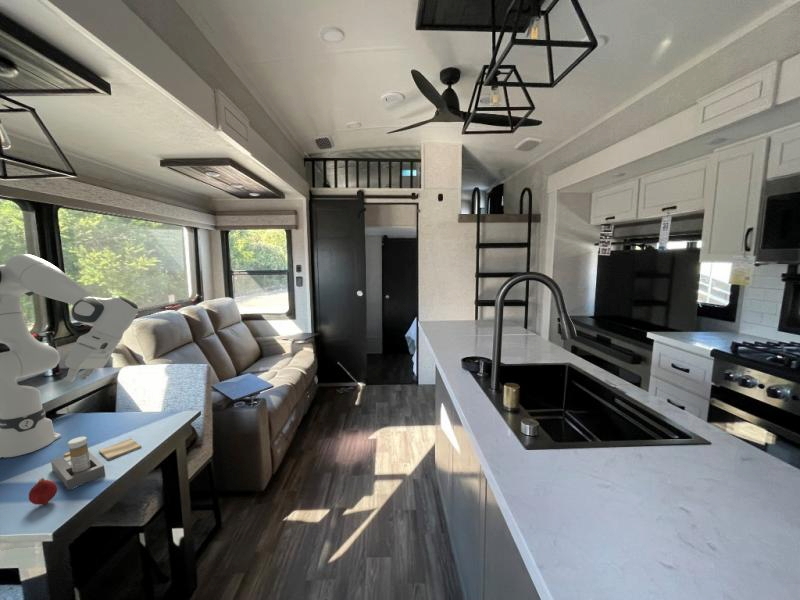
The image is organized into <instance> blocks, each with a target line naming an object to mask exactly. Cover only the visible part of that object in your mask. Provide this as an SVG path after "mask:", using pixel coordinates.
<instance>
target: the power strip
mask: <svg viewBox="0 0 800 600" xmlns="http://www.w3.org/2000/svg"><path fill="white" fill-rule="evenodd" d="M88 452H89V458H90V469H88V470H85V471H83V472H80V473H78V474H75V475H73V471H72V465H71V457H70V451H68V452H66V453H63V456H60V457H56V458H54V459H52V460H50V464H51V469H52V472H53V473H54V472H55V473H56V474H55V473H54V474H55V475H56V477H57V478H58V477H59V478H60V479H59V478H58V479H59V480H60V482H61V481H62V482H63V483H64V484H63V483H62V482H61V483H62V484H63V485H64V487H65V486H66V487H67V488H66V487H65V488H66V490H67V491H68V490H69V491H71V490H70V489H72V488H74V487H76V486H79V485H81V484H83V485H85V484H84V483H86V482H88V483H90V482H93V481H95V480H97V479H99V477H100V478H103V477H104V476H106V471H105V464H103V463H102V462H101V461H100V460H98V458H97V457H96V456H95V455H93V454H92V453H91V451H90V450H88ZM96 478H97V479H96ZM94 479H95V480H94ZM92 480H93V481H92ZM89 481H90V482H89ZM86 484H87V483H86ZM81 486H82V485H81ZM79 487H80V486H79ZM76 488H77V487H76ZM74 489H75V488H74ZM72 490H73V489H72Z"/></svg>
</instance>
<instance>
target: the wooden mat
mask: <svg viewBox="0 0 800 600" xmlns="http://www.w3.org/2000/svg"><path fill="white" fill-rule="evenodd" d="M141 448H142V445H141V444H140V443H138V442H137V441H135V439H132V438H129V439H125V440H123V441H121V442H117V443H116V444H113V445H110V446H108V447H104V448H102V449H99V450H98V452H99V454H100V455H101V454H102V455H101V456H102V457H104V458H105V460H107V461H111V460H114V459H116V458H118V457H121V456H123V455H126V454H129V453H131V452H134V451H136V450H139V449H141Z"/></svg>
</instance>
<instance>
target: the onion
mask: <svg viewBox="0 0 800 600" xmlns="http://www.w3.org/2000/svg"><path fill="white" fill-rule="evenodd" d="M57 493H58V486H57V484H56V483H55V482H54V481H52V480H47V479H45V478H44V477H41V478H39V479H38V482H37V483H35V485H33V486H32V488H31V489H30V491H29V493H28V500H29V502H30V503H32V504H34V505H36V506H37V505H39V506H40V505H41V506H45V505H46V504H48V503H49V502H51V500H53V498H54V497H55V496H56V494H57Z"/></svg>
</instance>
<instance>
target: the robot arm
mask: <svg viewBox="0 0 800 600" xmlns="http://www.w3.org/2000/svg"><path fill="white" fill-rule="evenodd" d="M35 294H37V295H39V296H42V297H44V298H48V299H52V300H55V301H59V302H63V303H65V304H69V305H72V307H71V317H72V318H73V320H75V321H76V322H78V323H81V324H84V325H88V326H90V327H92V328H90V330H89V332H87V333H84V334H82V335H80V336H79V337H77V339H76V343H77V344H75V345H74V347H72V349H71V351H70V352H69V354H68V356H67V357H66V360H65V362H64V366H65V367H67V368H68V371H67V375H66V376H65V378H64V381H65V382H68V383H71V382H74V380H75V379H76V376H77V373H79V372H80V370H85V371H84V372H83V373H81V375H80V376H79V378H78V379H79V380H81V381H87V380H88V379H89V378H90V376H91V375H92V374H93V373H95V371H96V370H97V369H102V368H104V367H105V366H106V364H107V363H108V361H109V359H110V358H111V356H112V354H113V352H114V351H115V350H116V348H117V346H118V345H119V343H120V342H121V341H122V338H123V336H124V333H125V332H126V331H127V330H128V329H129V328H130V327H131V325H132V323H133V322H134V321H135V318H136V316H137V314H138V311H139V307H138V305H137V304H136V303H135V302H133V301H131V300H130V299H128V298H126V297H124V296H119V295H118V296H117V295H116V296H113V297H104V298H103V297H97V296H96V295H94V294H93V293H91V292H90V291H88V290H86V288H85V287H82V286H81V285H80V284H79V283H77V282H76V281H75V280H74V279H73V278H72V277H70V276H69V275H67V274H66V273H65V272H64V271H63V270H61V269H60V268H59V267H57V266H55V265H54V264H53V263H51V262H49V261H47V260H45V259H43V258H42V257H41V258H40V257H38V256H35V255H32V254H29V253H20V254H16V255H14V256H12V257H10V258H9V259H8V260H7V262H6V264H0V344H3V345H5V346H7V347H8V348H9V351H8V350H7V351H3V352H0V458H2V457H3V458H13V457H18V456H22V455H26V454H29V453H33V452H35V451H38V450H41V449H43V448H45V447H46V446H49V445H50V444H51V443H53V442H54V441H56V440H59V439H60V438H61V437H62V435H61V433H58V432H55V429H54V424H53V421H52V419H50V418H47V417H46V410H45V407H43V402H42V397H41V391H40V390H39V389H38V388H37V387H34V386H29V385H20V384H18V382H17V380H18V379H21V378H25V377H26V378H27V377H30V376H35V375H38V374H42V373H44V372H47V371H50V370H53V369H54V368H56V367H58V366H57V365H58V364H59V363H60V359H61V356H60V353H59V351H58V349H56V348H55V347H53V346H51V345H48V344H45V343H43V342H41V341H40V340H37V338H35V337H34V335H33V334H32V333H31V332H30V330H29V327H28V325H27V322H26V319H25V314H24V311H23V308H22V305H21V297H23V295H26V296H28V297H31V296H33V295H35Z"/></svg>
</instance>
